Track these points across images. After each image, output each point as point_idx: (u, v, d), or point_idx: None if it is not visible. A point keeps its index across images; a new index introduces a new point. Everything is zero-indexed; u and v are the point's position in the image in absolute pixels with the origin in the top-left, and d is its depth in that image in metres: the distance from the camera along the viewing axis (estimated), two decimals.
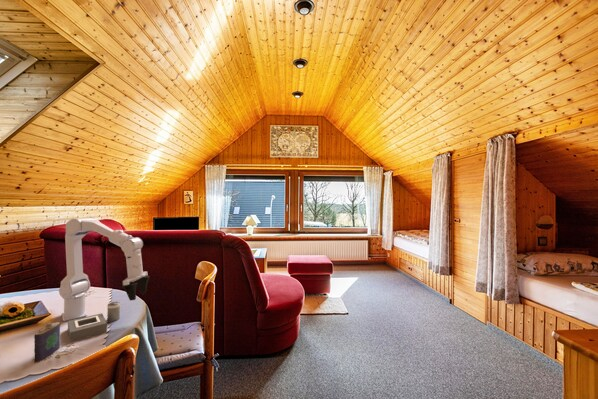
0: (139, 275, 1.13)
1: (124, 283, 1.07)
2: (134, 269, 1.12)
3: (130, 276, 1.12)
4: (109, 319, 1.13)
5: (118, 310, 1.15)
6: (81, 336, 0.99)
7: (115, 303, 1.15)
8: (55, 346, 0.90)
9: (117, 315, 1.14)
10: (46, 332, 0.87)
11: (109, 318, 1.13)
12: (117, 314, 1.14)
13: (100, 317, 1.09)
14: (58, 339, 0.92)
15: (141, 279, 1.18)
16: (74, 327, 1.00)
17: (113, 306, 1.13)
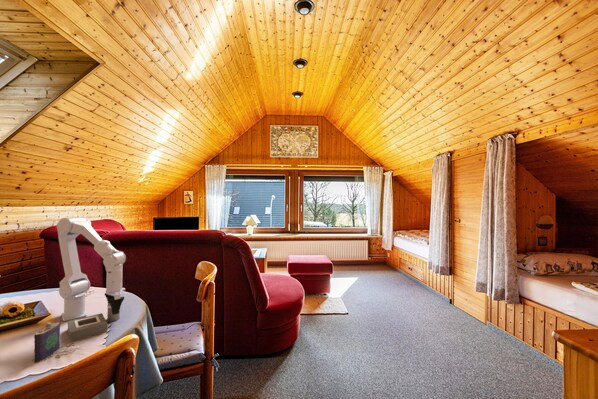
0: (121, 289, 1.16)
1: (116, 297, 1.10)
2: (119, 283, 1.14)
3: (114, 290, 1.13)
4: (109, 319, 1.13)
5: None
6: (81, 336, 0.99)
7: None
8: (55, 346, 0.90)
9: (117, 315, 1.14)
10: (46, 332, 0.87)
11: (109, 318, 1.13)
12: (117, 314, 1.14)
13: (100, 317, 1.09)
14: (58, 339, 0.92)
15: None
16: (74, 327, 1.00)
17: None
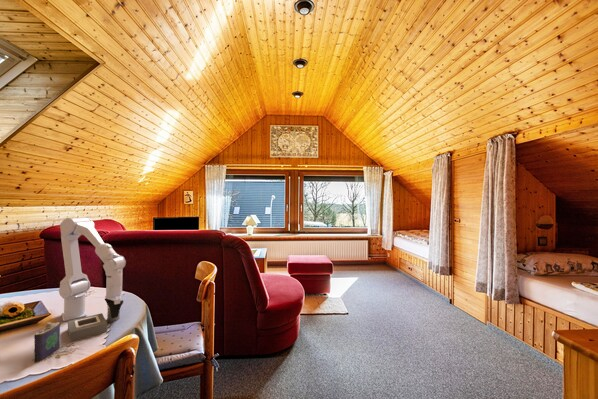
0: (121, 293, 1.16)
1: (116, 302, 1.10)
2: (119, 288, 1.14)
3: (113, 295, 1.13)
4: (109, 319, 1.13)
5: None
6: (81, 336, 0.99)
7: None
8: (55, 346, 0.90)
9: None
10: (46, 332, 0.87)
11: (109, 318, 1.13)
12: None
13: (100, 317, 1.09)
14: (58, 339, 0.92)
15: None
16: (74, 327, 1.00)
17: None
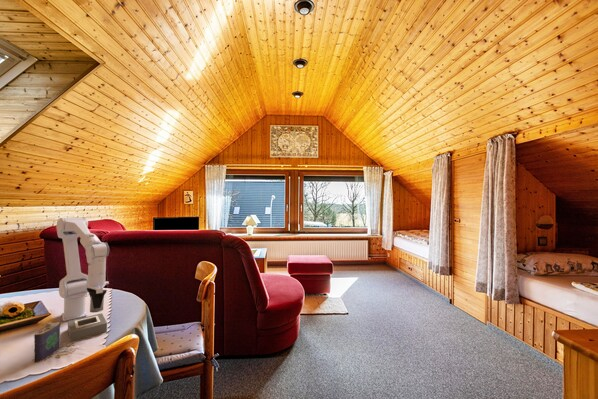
0: (104, 282, 1.09)
1: (98, 291, 1.02)
2: (101, 276, 1.07)
3: (96, 284, 1.05)
4: (92, 310, 1.06)
5: (102, 300, 1.08)
6: (81, 336, 0.99)
7: None
8: (55, 346, 0.90)
9: (101, 306, 1.08)
10: (46, 332, 0.87)
11: (92, 309, 1.06)
12: (101, 304, 1.08)
13: (100, 317, 1.09)
14: (58, 339, 0.92)
15: None
16: (74, 327, 1.00)
17: None
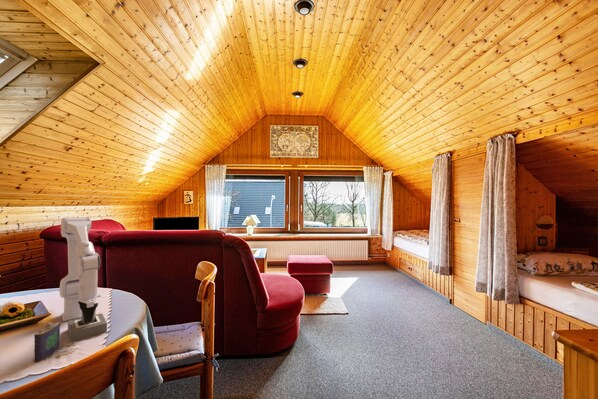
0: (96, 295, 1.05)
1: (89, 305, 0.99)
2: (93, 289, 1.04)
3: (87, 297, 1.02)
4: (83, 324, 1.03)
5: None
6: (81, 336, 0.99)
7: None
8: (55, 346, 0.90)
9: (92, 319, 1.05)
10: (46, 332, 0.87)
11: (83, 323, 1.03)
12: None
13: (100, 317, 1.09)
14: (58, 339, 0.92)
15: None
16: (74, 327, 1.00)
17: None
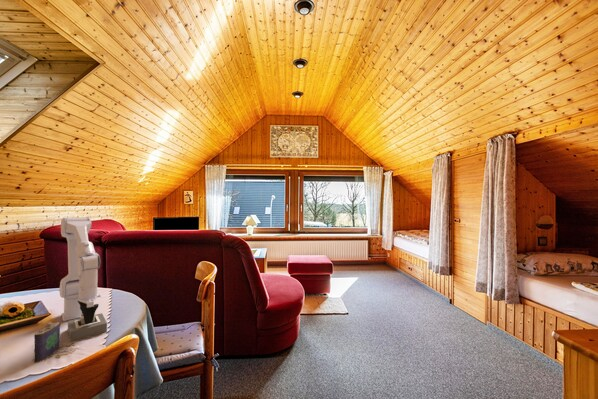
0: (96, 295, 1.05)
1: (89, 305, 0.99)
2: (93, 289, 1.04)
3: (87, 297, 1.02)
4: None
5: (92, 321, 1.05)
6: (81, 336, 0.99)
7: None
8: (55, 346, 0.90)
9: None
10: (46, 332, 0.87)
11: None
12: None
13: (100, 317, 1.09)
14: (58, 339, 0.92)
15: None
16: (74, 327, 1.00)
17: None
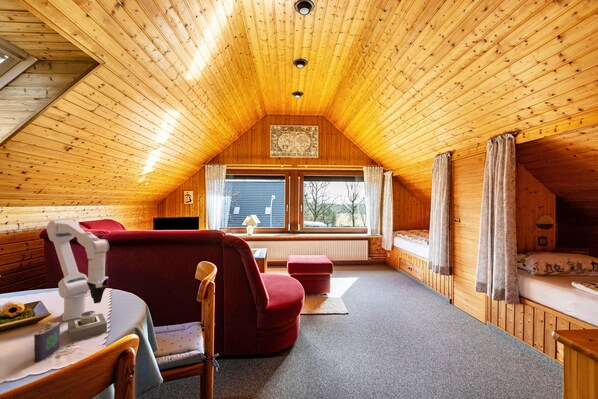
0: (104, 277, 1.13)
1: (98, 285, 1.07)
2: (101, 271, 1.11)
3: (96, 279, 1.10)
4: None
5: (92, 320, 1.05)
6: (81, 336, 0.99)
7: (89, 313, 1.05)
8: (55, 346, 0.90)
9: None
10: (46, 332, 0.87)
11: None
12: None
13: (100, 317, 1.09)
14: (58, 339, 0.92)
15: None
16: (74, 327, 1.00)
17: (87, 316, 1.03)
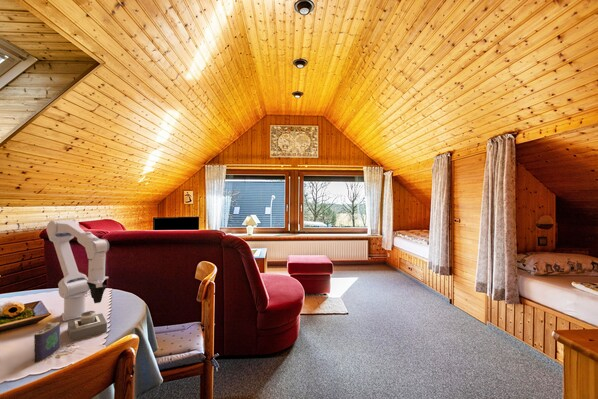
0: (104, 277, 1.13)
1: (98, 285, 1.07)
2: (101, 271, 1.11)
3: (96, 279, 1.10)
4: None
5: (93, 320, 1.05)
6: (81, 336, 0.99)
7: (90, 313, 1.05)
8: (55, 346, 0.90)
9: None
10: (46, 332, 0.87)
11: None
12: None
13: (100, 317, 1.09)
14: (58, 339, 0.92)
15: None
16: (74, 327, 1.00)
17: (87, 316, 1.03)
